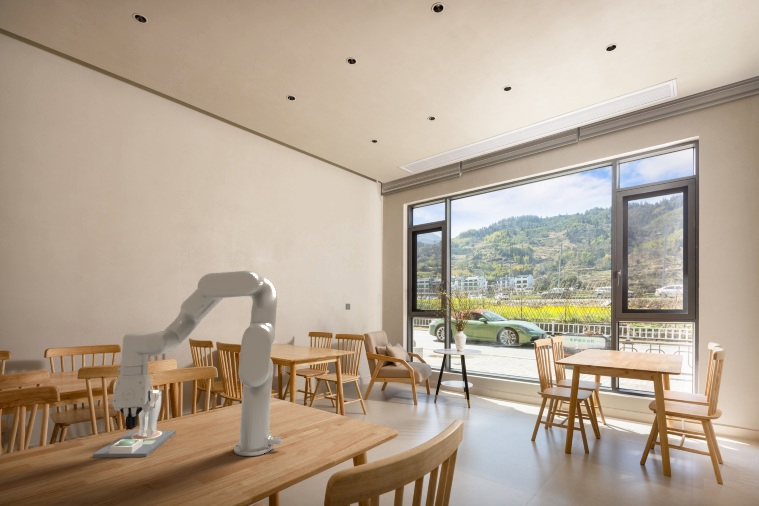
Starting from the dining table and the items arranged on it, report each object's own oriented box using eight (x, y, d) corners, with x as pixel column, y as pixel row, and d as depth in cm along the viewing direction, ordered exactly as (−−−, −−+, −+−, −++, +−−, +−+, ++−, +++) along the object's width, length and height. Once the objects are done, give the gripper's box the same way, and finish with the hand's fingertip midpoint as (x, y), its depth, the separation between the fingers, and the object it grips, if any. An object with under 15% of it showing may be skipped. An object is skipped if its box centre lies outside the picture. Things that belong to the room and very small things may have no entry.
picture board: (175, 433, 146) (176, 424, 146) (146, 456, 124) (147, 446, 124) (130, 433, 144) (131, 425, 145) (92, 457, 122) (93, 447, 123)
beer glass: (148, 439, 136) (152, 394, 138) (131, 437, 137) (135, 393, 139) (162, 432, 143) (166, 390, 145) (146, 431, 144) (150, 388, 146)
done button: (136, 445, 129) (137, 439, 129) (129, 450, 125) (130, 444, 125) (122, 445, 129) (123, 439, 129) (115, 450, 124) (115, 444, 125)
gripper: (103, 373, 125) (99, 433, 123) (152, 372, 127) (149, 431, 125) (117, 369, 133) (113, 425, 131) (163, 368, 134) (160, 423, 132)
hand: (131, 428), depth 128 cm, fingers closed
